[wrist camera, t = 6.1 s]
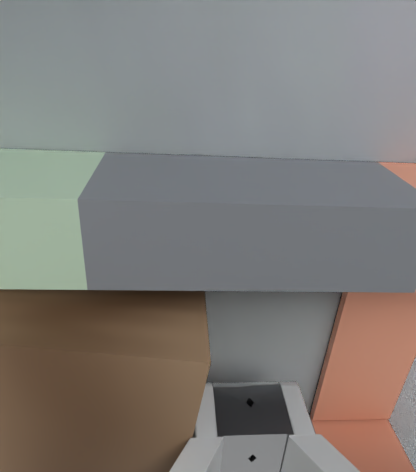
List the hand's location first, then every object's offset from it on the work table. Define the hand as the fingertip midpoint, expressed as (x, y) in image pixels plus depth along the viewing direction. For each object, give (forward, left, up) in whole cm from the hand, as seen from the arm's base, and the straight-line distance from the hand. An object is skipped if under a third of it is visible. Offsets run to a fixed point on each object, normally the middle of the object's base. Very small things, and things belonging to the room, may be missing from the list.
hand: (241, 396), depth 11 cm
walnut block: (+4, -1, -2) cm, 5 cm away
